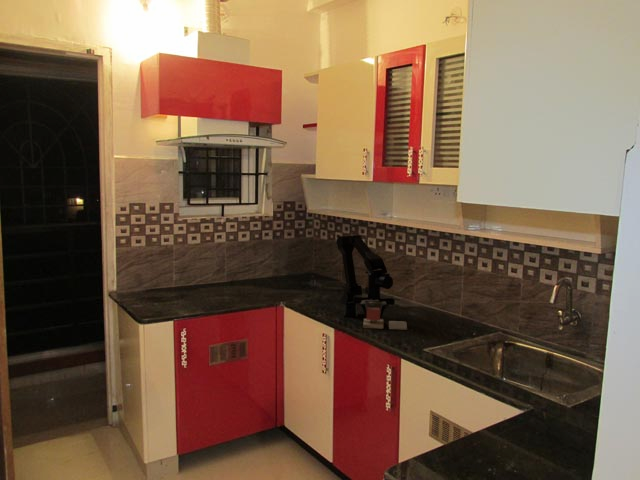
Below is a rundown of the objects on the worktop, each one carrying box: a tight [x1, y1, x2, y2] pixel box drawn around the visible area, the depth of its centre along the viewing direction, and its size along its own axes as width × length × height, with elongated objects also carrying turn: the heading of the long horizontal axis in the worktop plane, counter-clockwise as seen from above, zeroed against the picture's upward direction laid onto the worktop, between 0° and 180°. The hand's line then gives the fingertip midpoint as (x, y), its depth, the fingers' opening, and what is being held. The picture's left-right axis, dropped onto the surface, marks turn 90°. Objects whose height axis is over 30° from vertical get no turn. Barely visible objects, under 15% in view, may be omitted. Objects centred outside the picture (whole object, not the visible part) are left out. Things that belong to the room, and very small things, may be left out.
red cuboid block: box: [366, 307, 381, 320], centre depth 248 cm, size 6×6×4 cm
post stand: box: [362, 318, 384, 330], centre depth 248 cm, size 10×9×6 cm
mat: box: [388, 320, 408, 331], centre depth 247 cm, size 10×8×1 cm
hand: (373, 318), depth 248 cm, fingers closed on red cuboid block, 6 cm apart
